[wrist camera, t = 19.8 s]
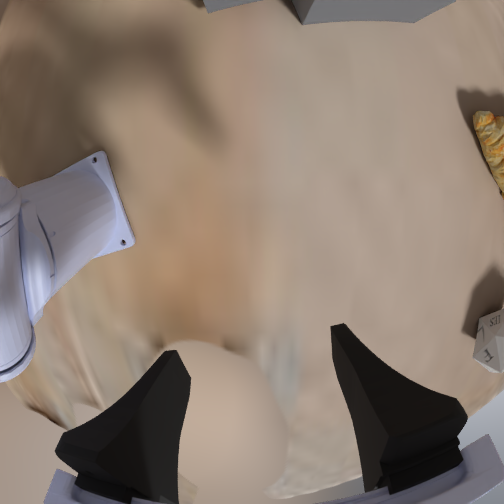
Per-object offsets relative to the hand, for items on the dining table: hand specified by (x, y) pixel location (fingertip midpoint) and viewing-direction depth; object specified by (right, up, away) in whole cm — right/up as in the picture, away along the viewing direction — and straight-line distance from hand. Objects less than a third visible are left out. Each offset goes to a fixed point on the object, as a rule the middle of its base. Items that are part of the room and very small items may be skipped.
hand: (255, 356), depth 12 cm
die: (+31, -5, +14) cm, 34 cm away
